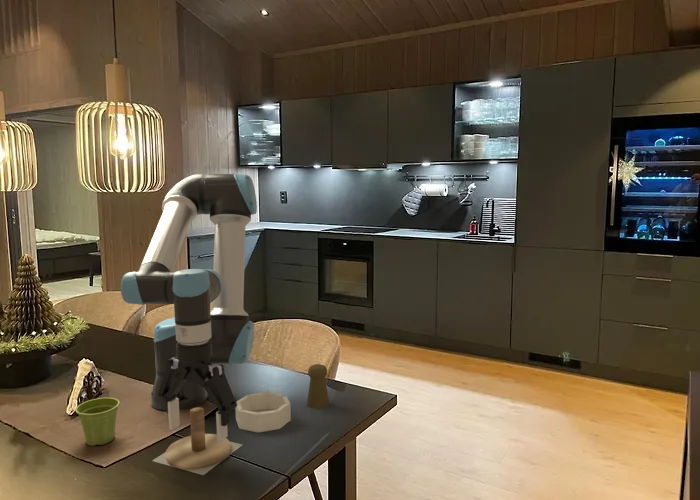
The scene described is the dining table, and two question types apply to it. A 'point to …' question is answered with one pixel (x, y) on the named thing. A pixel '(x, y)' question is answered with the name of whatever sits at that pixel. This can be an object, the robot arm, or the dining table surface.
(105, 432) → the plant pot
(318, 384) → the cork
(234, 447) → the mat
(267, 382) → the dining table surface
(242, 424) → the bowl
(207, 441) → the lid
